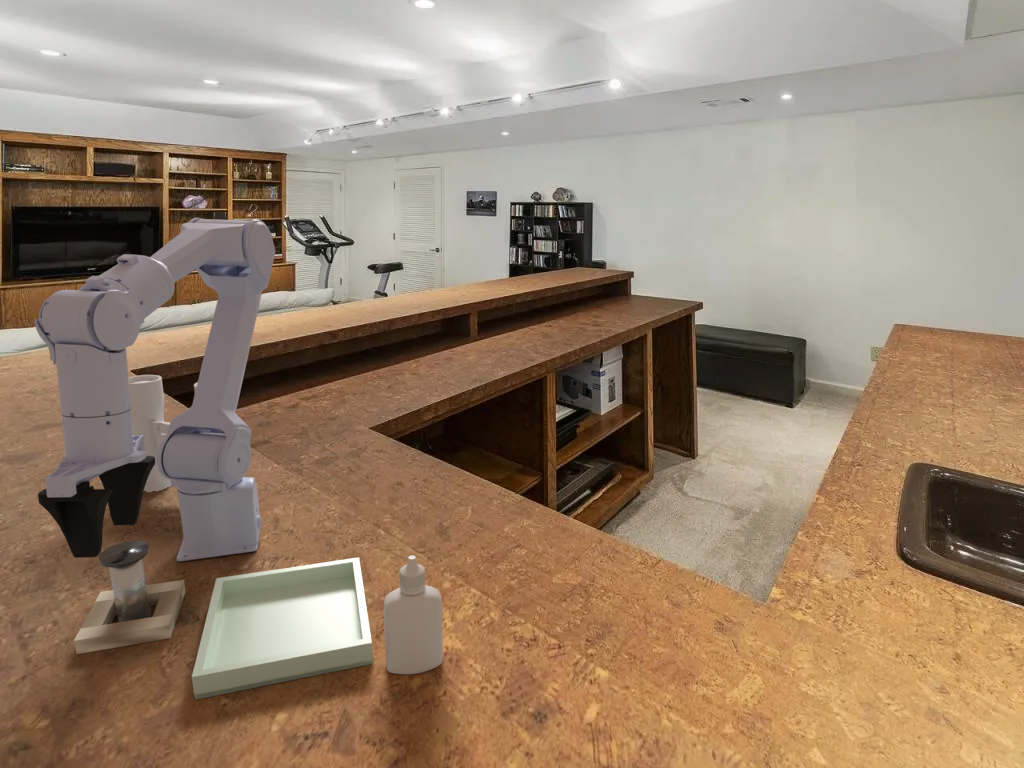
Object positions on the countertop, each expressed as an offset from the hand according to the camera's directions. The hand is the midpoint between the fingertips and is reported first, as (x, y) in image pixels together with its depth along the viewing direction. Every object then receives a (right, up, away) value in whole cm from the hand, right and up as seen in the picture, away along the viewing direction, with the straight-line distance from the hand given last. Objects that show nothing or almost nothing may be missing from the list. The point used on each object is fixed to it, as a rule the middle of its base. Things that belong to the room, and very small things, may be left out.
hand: (107, 539), depth 62 cm
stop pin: (+1, -10, +3) cm, 10 cm away
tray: (+18, -10, +3) cm, 21 cm away
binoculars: (-10, -1, +34) cm, 36 cm away
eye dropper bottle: (+32, -12, -2) cm, 35 cm away
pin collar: (+1, -10, +3) cm, 10 cm away
